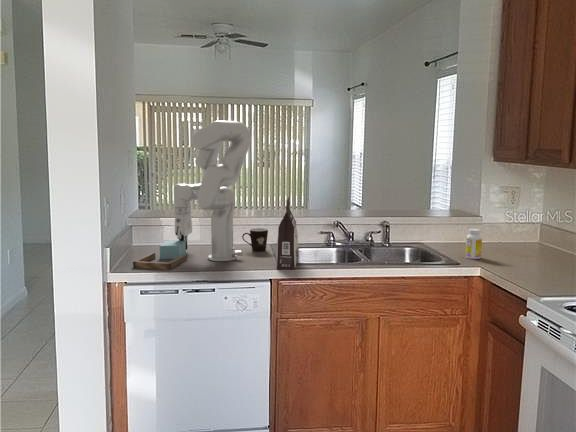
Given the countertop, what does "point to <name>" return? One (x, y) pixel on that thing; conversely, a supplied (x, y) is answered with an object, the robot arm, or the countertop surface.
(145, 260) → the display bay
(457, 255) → the countertop surface
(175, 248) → the carton
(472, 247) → the supplement bottle
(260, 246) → the coffee mug
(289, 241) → the protein powder
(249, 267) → the countertop surface
